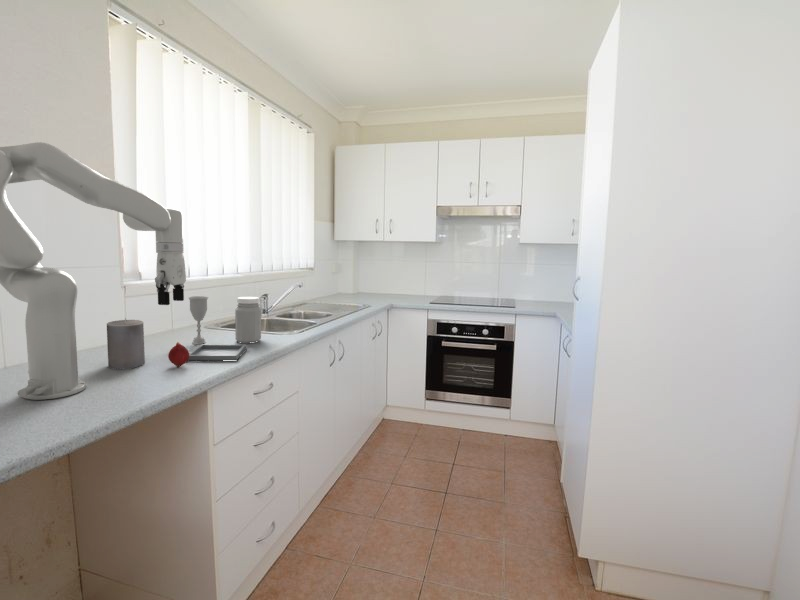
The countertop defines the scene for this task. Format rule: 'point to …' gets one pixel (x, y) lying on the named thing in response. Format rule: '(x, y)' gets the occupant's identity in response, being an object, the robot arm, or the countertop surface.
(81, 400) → the countertop surface
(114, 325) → the pillar candle
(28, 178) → the robot arm
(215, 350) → the tray
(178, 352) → the onion
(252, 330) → the jar
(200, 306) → the chalice
